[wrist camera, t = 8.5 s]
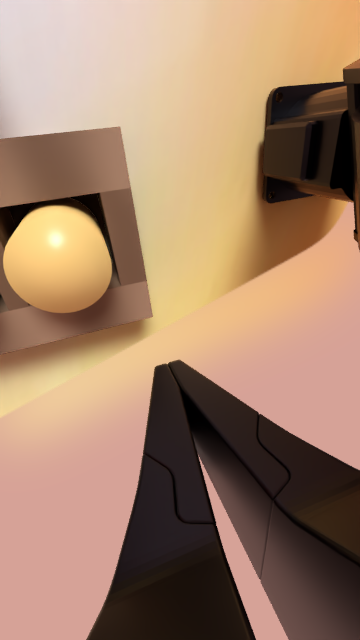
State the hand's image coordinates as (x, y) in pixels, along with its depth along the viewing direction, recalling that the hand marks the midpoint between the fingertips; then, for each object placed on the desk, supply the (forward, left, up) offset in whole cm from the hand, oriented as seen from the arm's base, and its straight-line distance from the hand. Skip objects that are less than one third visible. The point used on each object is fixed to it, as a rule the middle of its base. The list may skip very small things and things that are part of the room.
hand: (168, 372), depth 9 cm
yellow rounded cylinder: (+3, -2, -12) cm, 13 cm away
